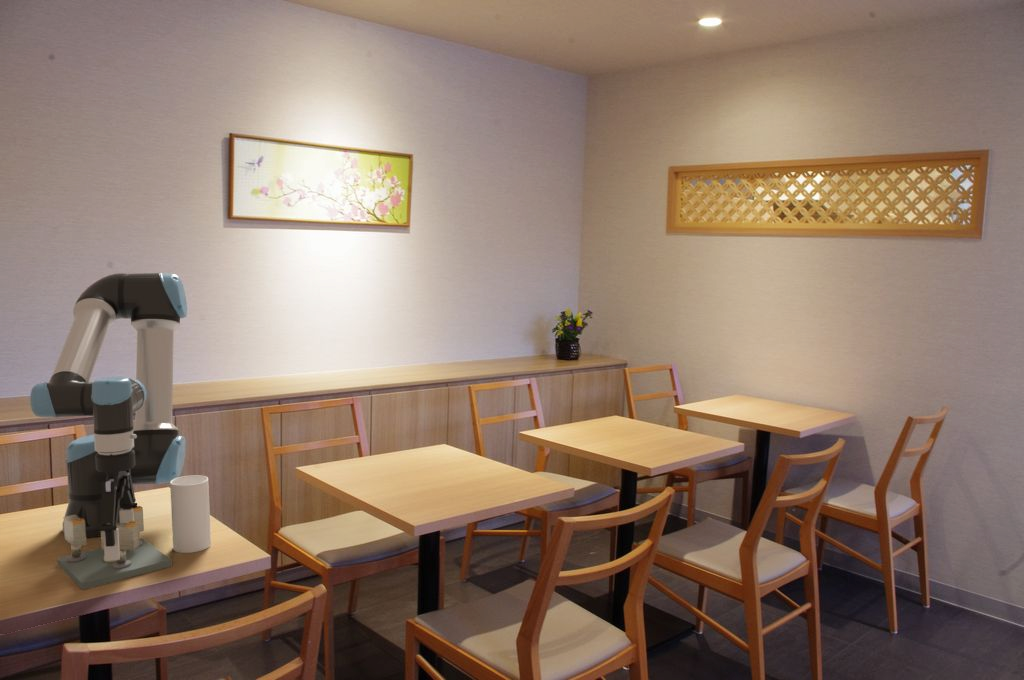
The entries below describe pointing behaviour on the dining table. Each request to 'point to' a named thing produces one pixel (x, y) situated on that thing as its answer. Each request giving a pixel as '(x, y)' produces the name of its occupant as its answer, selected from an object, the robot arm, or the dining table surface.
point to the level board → (112, 565)
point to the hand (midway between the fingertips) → (120, 548)
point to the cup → (190, 513)
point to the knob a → (75, 533)
